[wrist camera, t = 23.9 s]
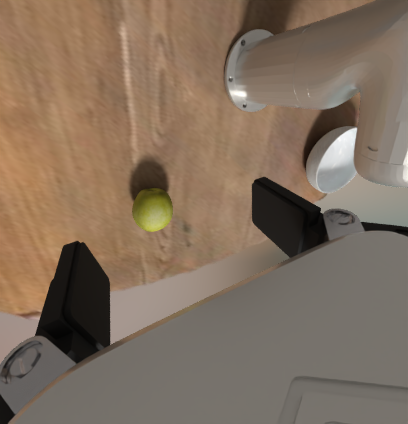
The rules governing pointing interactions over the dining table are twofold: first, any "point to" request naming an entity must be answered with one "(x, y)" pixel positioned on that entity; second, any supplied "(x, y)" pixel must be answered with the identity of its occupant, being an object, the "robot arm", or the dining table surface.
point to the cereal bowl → (332, 160)
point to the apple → (152, 209)
